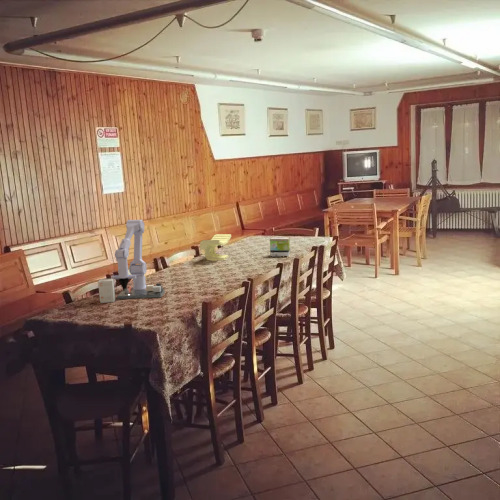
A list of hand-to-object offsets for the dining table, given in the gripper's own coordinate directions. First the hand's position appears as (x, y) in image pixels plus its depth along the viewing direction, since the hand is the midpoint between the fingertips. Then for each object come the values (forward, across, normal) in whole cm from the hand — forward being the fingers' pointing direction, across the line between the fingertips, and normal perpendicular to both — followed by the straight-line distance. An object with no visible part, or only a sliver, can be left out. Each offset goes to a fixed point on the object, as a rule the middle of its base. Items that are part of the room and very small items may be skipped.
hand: (125, 290), depth 323 cm
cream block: (+1, +15, +3) cm, 15 cm away
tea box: (+4, +97, +114) cm, 150 cm away
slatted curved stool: (+4, +46, +111) cm, 120 cm away
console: (+3, +10, 0) cm, 10 cm away
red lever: (+1, +2, -2) cm, 3 cm away
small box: (+4, -8, -10) cm, 14 cm away
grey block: (+1, +20, -1) cm, 20 cm away
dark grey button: (0, +20, +4) cm, 20 cm away
